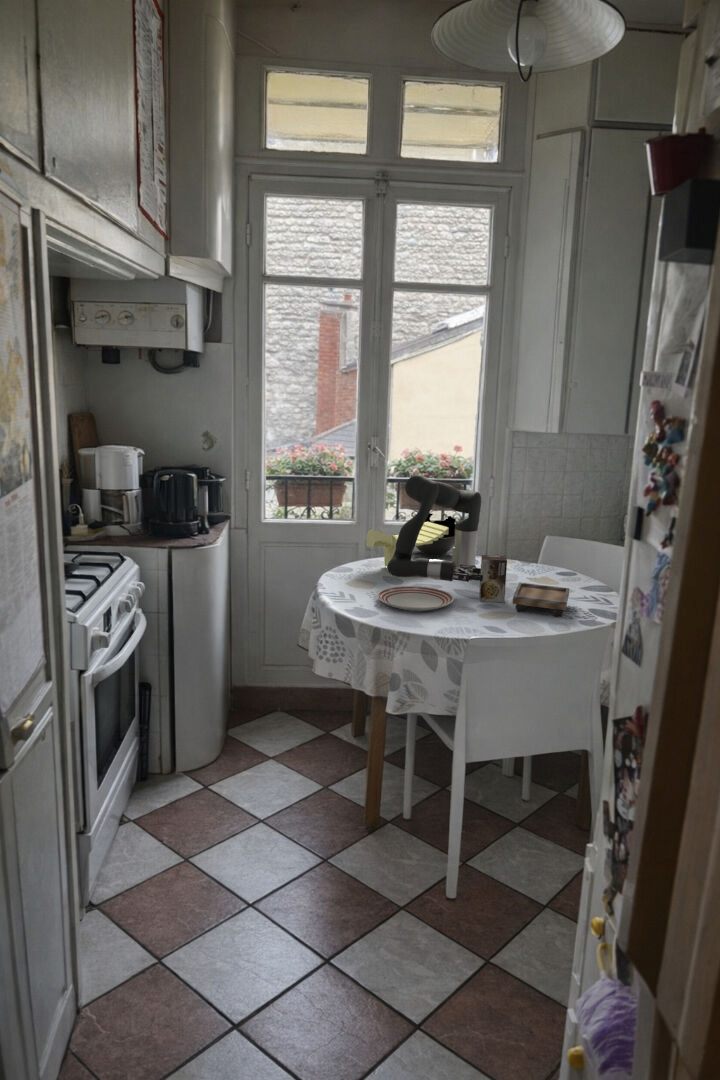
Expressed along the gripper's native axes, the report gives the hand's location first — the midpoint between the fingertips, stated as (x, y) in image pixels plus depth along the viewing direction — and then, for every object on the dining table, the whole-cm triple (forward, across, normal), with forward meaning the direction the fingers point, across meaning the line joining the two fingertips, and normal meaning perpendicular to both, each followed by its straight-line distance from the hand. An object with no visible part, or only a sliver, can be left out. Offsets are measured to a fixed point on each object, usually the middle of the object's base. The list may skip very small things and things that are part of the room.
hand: (484, 574), depth 292 cm
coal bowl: (-31, +54, +9) cm, 63 cm away
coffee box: (+3, 0, +9) cm, 10 cm away
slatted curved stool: (-36, +26, +9) cm, 45 cm away
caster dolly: (+21, -3, +9) cm, 23 cm away
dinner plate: (-22, -16, +9) cm, 29 cm away
